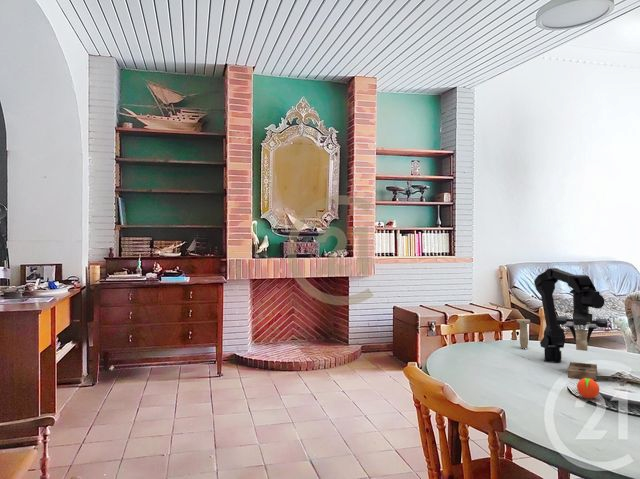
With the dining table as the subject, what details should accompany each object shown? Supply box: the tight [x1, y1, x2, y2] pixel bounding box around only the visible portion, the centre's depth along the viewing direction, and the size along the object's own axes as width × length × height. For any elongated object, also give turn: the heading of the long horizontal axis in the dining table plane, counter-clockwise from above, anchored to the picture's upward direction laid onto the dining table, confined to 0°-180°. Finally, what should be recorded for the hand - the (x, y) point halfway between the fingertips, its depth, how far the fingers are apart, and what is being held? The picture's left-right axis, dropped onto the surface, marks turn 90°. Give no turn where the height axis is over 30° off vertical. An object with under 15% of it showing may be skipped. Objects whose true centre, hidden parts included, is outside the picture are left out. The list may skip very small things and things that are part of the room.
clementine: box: [576, 378, 600, 399], centre depth 165 cm, size 8×7×7 cm
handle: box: [516, 318, 531, 349], centre depth 242 cm, size 5×6×15 cm
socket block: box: [567, 361, 598, 381], centre depth 194 cm, size 10×15×3 cm, turn 148°
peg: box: [575, 328, 589, 352], centre depth 197 cm, size 4×4×8 cm
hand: (581, 342), depth 197 cm, fingers closed on peg, 4 cm apart
